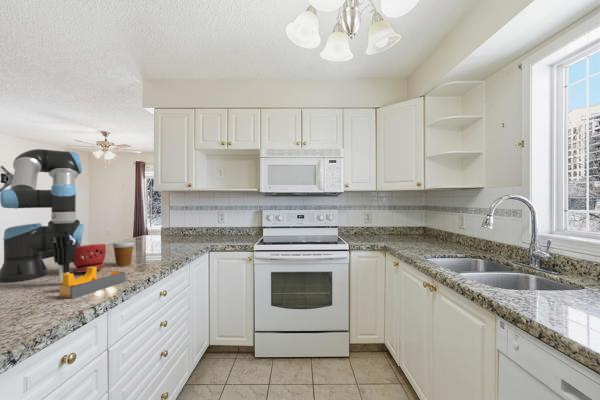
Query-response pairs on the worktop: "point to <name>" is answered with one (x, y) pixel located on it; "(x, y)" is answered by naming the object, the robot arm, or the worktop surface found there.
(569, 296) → the worktop surface
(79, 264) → the plant pot
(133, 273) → the worktop surface
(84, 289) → the keeper bracket
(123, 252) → the disposable coffee cup
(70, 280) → the pipe clamp
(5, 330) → the worktop surface
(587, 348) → the worktop surface
